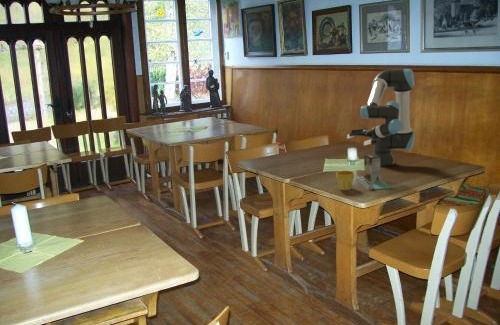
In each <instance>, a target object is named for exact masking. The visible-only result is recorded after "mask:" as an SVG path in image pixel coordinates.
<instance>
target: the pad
mask: <svg viewBox="0 0 500 325" xmlns="http://www.w3.org/2000/svg"><path fill="white" fill-rule="evenodd" d="M372 184H374V190H375V191H378V190H387V189H388V190H389V189H392V186H391V185H389V184H387V183H386V182H384V181H380V182H378V183H372Z"/></svg>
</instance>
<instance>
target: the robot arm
mask: <svg viewBox="0 0 500 325" xmlns="http://www.w3.org/2000/svg"><path fill="white" fill-rule="evenodd" d="M415 84H416V83H415V75H414V72H413V70H412V69H411V68H393V69H385V70H382V71H380V72H379V73H378V74H377V75H376V76H374V78H373V80H372V82H371V91H370V93H369V96H368V99H367V102H366V105H362V106H361V107H360V111H359V112H360V114H359V115H360V118H362V119H368V120H369V119H371V120H373V119H378V120H379V119H381V120H382V119H383V120H384V123H381V124H378V125H376V126H374V127H372V128H371V129H370V130H367V128H360V129H351V132H350V133H348V134H347V135H346V139H348V140H349V139H351V138H354V137H358V136H359V137H366V138H370V139H368V140H365V141H363V146H364V147H366V146H369V145H372V146H373V154H375V155H377V156H379V157H380V167H389V166H393V165H394V164H395V161H394V160H395V159H394V156H393V154H392V150H404V151H407V150H409V151H410V150H413V147H414V144H415V143H414V142H415V137H416V135H415V134H416V133H415V131H413V128H412V127H411V118H410V117H411V112H410V111H411V109H410V107H411V104H410V103H411V102H410V100H411V99H410V97H411V96H410V92H412V90H413V88H414V87H415ZM389 88H390V89H392V90H393V93H395V101H392V100H391V101H388V102H387V103H386V105H380V104H381V101H382V98H383V95H384V93H385V91H386V89H389Z"/></svg>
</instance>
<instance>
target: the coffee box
mask: <svg viewBox="0 0 500 325" xmlns="http://www.w3.org/2000/svg"><path fill="white" fill-rule="evenodd" d="M363 156H364V159H363V160H364V162H363V163H364V167H363V168H364V178H365V179H366V180H368V181H369V182H371V183H378V182H381V166H380V157H379V156H377V155H375V154H374V153H370V154H364V155H363Z"/></svg>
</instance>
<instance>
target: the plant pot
mask: <svg viewBox="0 0 500 325" xmlns="http://www.w3.org/2000/svg"><path fill="white" fill-rule="evenodd" d="M335 176H336V180H337V182H338V185H339V186H338V187H339V189H340V190H341V191H350V190H352V187H353V181H354V179H355V172H354V171H351V170H340V171H337V172H336V174H335Z"/></svg>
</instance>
